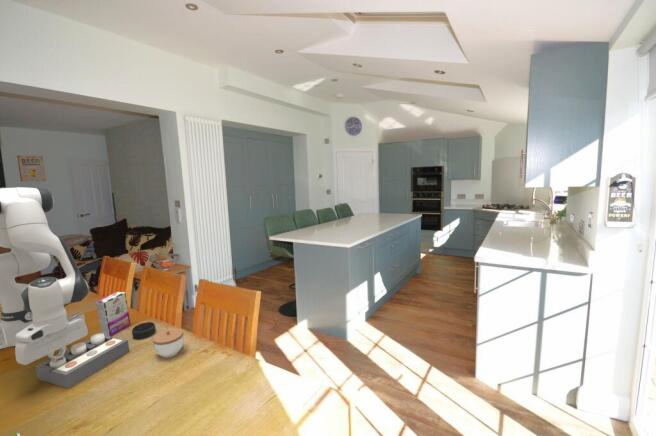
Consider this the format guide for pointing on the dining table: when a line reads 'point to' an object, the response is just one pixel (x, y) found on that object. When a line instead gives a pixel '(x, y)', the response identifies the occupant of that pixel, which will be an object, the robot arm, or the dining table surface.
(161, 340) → the lidded jar
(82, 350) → the button
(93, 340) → the button
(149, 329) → the smart speaker
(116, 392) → the dining table surface
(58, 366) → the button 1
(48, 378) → the button board
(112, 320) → the candy bar box
